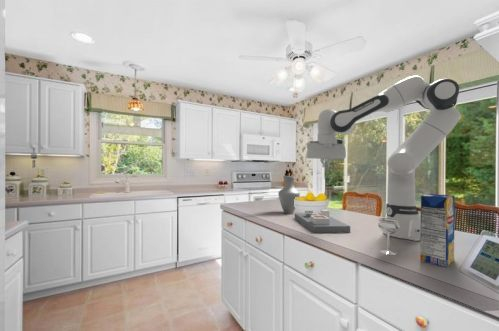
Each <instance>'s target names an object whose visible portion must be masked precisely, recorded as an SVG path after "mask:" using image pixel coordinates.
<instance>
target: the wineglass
mask: <svg viewBox="0 0 499 331" xmlns="http://www.w3.org/2000/svg"><path fill="white" fill-rule="evenodd" d="M398 222H399V220H396V219H390V218H387V217H380V218H378V225H377V226H378V229H379V230H380V231H381V232H382V233H383V232H384V233H386V234H385V235H386V236H387V238H386V239H387V249H382V250H380V252H381V253H382V254H383V255H390V256H395V255H397V253H396V252H394V251H393V250H390V238H391V236H390V235H391V234H394V233H396V232H397V231H398V230H399V224H398ZM384 233H383V234H384Z"/></svg>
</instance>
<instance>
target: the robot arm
mask: <svg viewBox="0 0 499 331" xmlns="http://www.w3.org/2000/svg"><path fill="white" fill-rule="evenodd" d="M459 93H460V85H459V84H458V82H457V81H455V80H453V79H450V78H440V79H438V80H436V81H434V82H432V83H428V82H426V81H425V79H424V78H423V77H421V76H419V75H413V76H412V75H411V76H408V77H406V78H404V79H402V80H399V81H398V82H396V83H394V84H392V85H390V86H388V87H386V88H385V89H384V90H382V91H380V92H378V94H376V95H374V96H373V97H371V98H369V99H367V100H365V101H363V102H361V103H359V104H358V105H355V106H353V107H351V108H348V109H342V110H338V111H336V110H334V109H331V108H330V109H325V110H323V111H320V112H319V115H318V120H317V131H318V132H317V140H309V141H307V143H306V149H307V150H306V158H307V159H319V160H320V163H321V165H322V166H321V167H322V168H325V169H326V168H330V164H331V162H332V160H344V159H346V156H347V155H346V147H345V140H343V139H342V138H341V139H340V138H337V137H336V134H339V135H349V134H351V133H352V132H353V131H354V130H355V127H356V122H358V121H360V120H361V119H364V118H366V117H368V116H370V115H371V114H374V113H378V112H383V113H390V112H394V111H396V110H399V109H401V108H402V107H403V108H404V107H405V106H406V105H408V104H410V103H413V102H416V103H417V104H418V105H420V106H421V107H422V108H424V109H426V110H429V112H428V115H427V116H426V117H425V119H424V120H423V121H422V122H421V123H420V124H419V125H418V126H417V128H415V130H414V131H413V132H412V133H411V134H409V136H408V137H407V138H405V140H404V141H403V142H402V143H401V144H400V145H399V146H398V147H397V148H396V150H394V152H392V154H391V155H390V156H389V157H388V159H387V167H388V168H387V169H388V172H387V196H386V197H387V198H386V199H387V200H386V201H387V203H386V204H385V205H386V206H385V211H386V212H385V213H386V218H390V219H396V220H399V222H398V224H399V230H398V231H397V232H396V233H394V234H391V235H390V237H393V238H399V239H403V240H404V239H405V240H411V241H414V242H417V241H418V242H419V241H420V242H421V214H420V212H421V206H416V169H417V168H418V167H419V166H420V164H421V163H422V162H423V161H425V160H426V158H427V157H428V156H429V155H430V154H431V152H433V151H434V150H435V148H436V147H437V146H438V145H440V143H441V142H442V141H443V140H444V139H445V138H446V137H447V136H448V135H449V134H450V133H451V132H452V131H453V129H454V128H455V127H456V125H457V124H458V122H459V121H460V119H461V117H462V116H461V112H460V111H459V110H458V109H457V108H456V107H455V106H456V104H457V101H458V98H459ZM325 159H326V163H325ZM382 233H383V234H385V235H386V233H384V232H382Z"/></svg>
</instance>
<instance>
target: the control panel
mask: <svg viewBox="0 0 499 331" xmlns="http://www.w3.org/2000/svg"><path fill="white" fill-rule="evenodd" d="M315 217H323V218H315ZM294 219H295V220H297V221H298V222H299V223H301V225H303V226H304V227H306V228H307V229H309V230H310V231H311V232H312V233H314V234H316V233H318V234H319V233H320V234H321V233H323V234H326V233H333V234H335V233H351V225H349V224H347V223H344V222H342V221H340V220H339V219H337V218H334V217H332V216H330V215H329V218H328V217H326V216H321V212H318V214H312V213H305V212H304V213H303V212H302V213H301V212H300V213H299V212H298V213H297V212H296V213H295V212H294Z"/></svg>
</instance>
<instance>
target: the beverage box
mask: <svg viewBox="0 0 499 331" xmlns="http://www.w3.org/2000/svg"><path fill="white" fill-rule="evenodd" d="M455 200H456V196H455V195H451V194H437V193H436V194H435V193H427V194H422V195H420V207H421V211H420V215H421V240H420V249H419V250H420V253H419V254H420V255H419V258H420V259H419V261H420V262H422V263H427V264H431V265H435V266H437V267H442V268H447V267H449V265H451V263H452V262H453V261H455V217H456V216H455V211H456V210H455V207H456V206H455V204H456V203H455V202H456V201H455Z"/></svg>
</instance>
